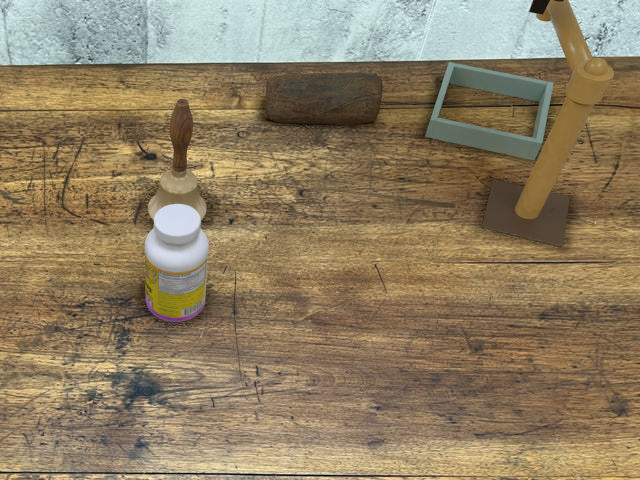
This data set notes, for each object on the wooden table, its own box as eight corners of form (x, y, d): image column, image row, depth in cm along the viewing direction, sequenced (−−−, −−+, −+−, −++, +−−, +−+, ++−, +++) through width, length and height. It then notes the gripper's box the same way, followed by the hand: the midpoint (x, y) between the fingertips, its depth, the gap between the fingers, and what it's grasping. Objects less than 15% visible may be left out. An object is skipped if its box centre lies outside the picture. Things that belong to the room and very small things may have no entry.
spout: (600, 115, 84) (624, 70, 80) (564, 114, 84) (586, 69, 80) (558, 12, 96) (577, -33, 91) (526, 11, 96) (543, -33, 92)
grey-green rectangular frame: (543, 105, 111) (553, 82, 108) (531, 166, 104) (542, 143, 101) (441, 85, 114) (449, 61, 111) (422, 142, 107) (430, 119, 104)
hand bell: (218, 198, 102) (227, 84, 89) (201, 243, 97) (208, 130, 84) (154, 186, 103) (154, 73, 90) (134, 230, 99) (131, 117, 86)
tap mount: (566, 204, 99) (631, 81, 86) (558, 253, 95) (626, 132, 81) (489, 186, 102) (541, 64, 88) (478, 234, 97) (531, 112, 83)
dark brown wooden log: (368, 102, 112) (379, 57, 107) (377, 134, 108) (389, 89, 103) (259, 104, 113) (264, 60, 107) (264, 136, 109) (270, 92, 103)
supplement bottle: (151, 279, 94) (151, 192, 83) (208, 287, 93) (215, 200, 83) (140, 323, 90) (138, 237, 80) (199, 331, 89) (205, 246, 79)
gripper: (488, -62, 70) (467, 23, 92) (653, -34, 66) (590, 48, 89) (520, -156, 68) (491, -46, 91) (691, -132, 65) (617, -24, 87)
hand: (540, 0), depth 90 cm, fingers closed
